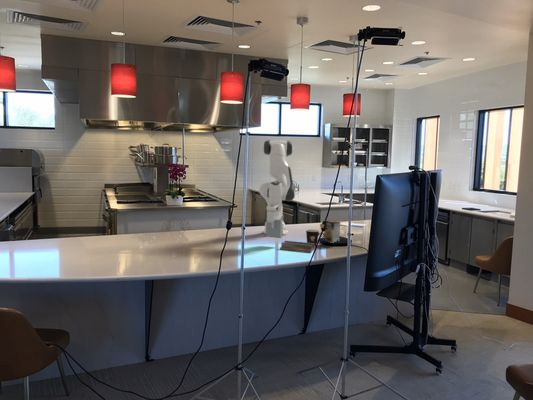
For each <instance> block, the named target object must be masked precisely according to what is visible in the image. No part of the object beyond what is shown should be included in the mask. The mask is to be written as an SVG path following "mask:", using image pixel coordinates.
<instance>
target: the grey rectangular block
mask: <svg viewBox="0 0 533 400" xmlns="http://www.w3.org/2000/svg"><path fill="white" fill-rule="evenodd" d="M265 222H266V234H265V237H266V238H275V239H281V238H282V237H283V235H282V219H277V220H276V221H275V223H274V225H275V227H274V228H272V225H271V223H270V222H267V220H266V221H265Z"/></svg>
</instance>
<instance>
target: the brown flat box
mask: <svg viewBox="0 0 533 400" xmlns="http://www.w3.org/2000/svg"><path fill="white" fill-rule="evenodd" d="M315 249H316V246H315V243H307V241H306V242H304V241H295V240H294V241H293V240H284V242H283V241H282V242H281V245H280V246H279V250H280V251H281V250H282V251H287V250H288V251H289V252H299V253H307V254H308V253H309V254H311V253H312V252H313V251H314V250H315Z"/></svg>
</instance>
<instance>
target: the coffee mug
mask: <svg viewBox="0 0 533 400" xmlns="http://www.w3.org/2000/svg"><path fill="white" fill-rule="evenodd" d="M305 232H306V233H305V234H306V236H305V237H306V243H315V246H316V244H317V245H318V242H319V241H321V240H323V239H324V232H319V230H318V229H306V230H305ZM321 233H322V237H321V238H319V236H320V235H321Z"/></svg>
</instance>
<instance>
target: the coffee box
mask: <svg viewBox="0 0 533 400" xmlns="http://www.w3.org/2000/svg"><path fill="white" fill-rule="evenodd" d="M325 222H326V223H325ZM324 228H325V230H324V229H323V231H324V232H323V234H324V235H323V236H324V237H323V241H324V240H326V241H328V242H330V243H334V242H337V241H339V242H340V233H341V222H340V221H338V220H337V221H336V220H331V219H329V220H327V219H326V220H324Z"/></svg>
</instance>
